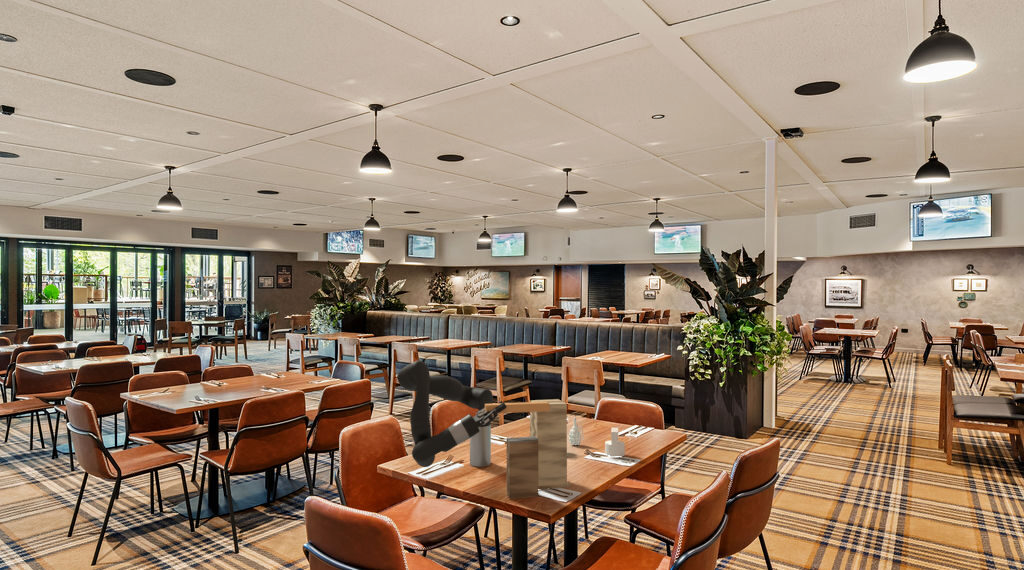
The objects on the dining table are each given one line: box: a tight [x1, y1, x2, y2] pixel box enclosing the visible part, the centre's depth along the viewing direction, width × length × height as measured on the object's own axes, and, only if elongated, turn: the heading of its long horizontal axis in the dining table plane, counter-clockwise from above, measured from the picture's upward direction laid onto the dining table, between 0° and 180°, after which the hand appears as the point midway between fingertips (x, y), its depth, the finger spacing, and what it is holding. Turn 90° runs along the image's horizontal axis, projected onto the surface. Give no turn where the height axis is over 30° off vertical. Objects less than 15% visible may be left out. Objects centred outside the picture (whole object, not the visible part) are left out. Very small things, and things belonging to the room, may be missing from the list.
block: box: [506, 436, 539, 500], centre depth 206 cm, size 4×11×21 cm, turn 104°
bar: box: [485, 401, 549, 414], centre depth 206 cm, size 3×24×3 cm, turn 104°
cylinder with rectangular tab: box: [604, 427, 626, 456], centre depth 258 cm, size 9×9×12 cm
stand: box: [529, 398, 571, 490], centre depth 220 cm, size 12×14×32 cm
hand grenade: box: [568, 416, 585, 446], centre depth 276 cm, size 8×6×14 cm
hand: (504, 404), depth 205 cm, fingers closed on bar, 3 cm apart
